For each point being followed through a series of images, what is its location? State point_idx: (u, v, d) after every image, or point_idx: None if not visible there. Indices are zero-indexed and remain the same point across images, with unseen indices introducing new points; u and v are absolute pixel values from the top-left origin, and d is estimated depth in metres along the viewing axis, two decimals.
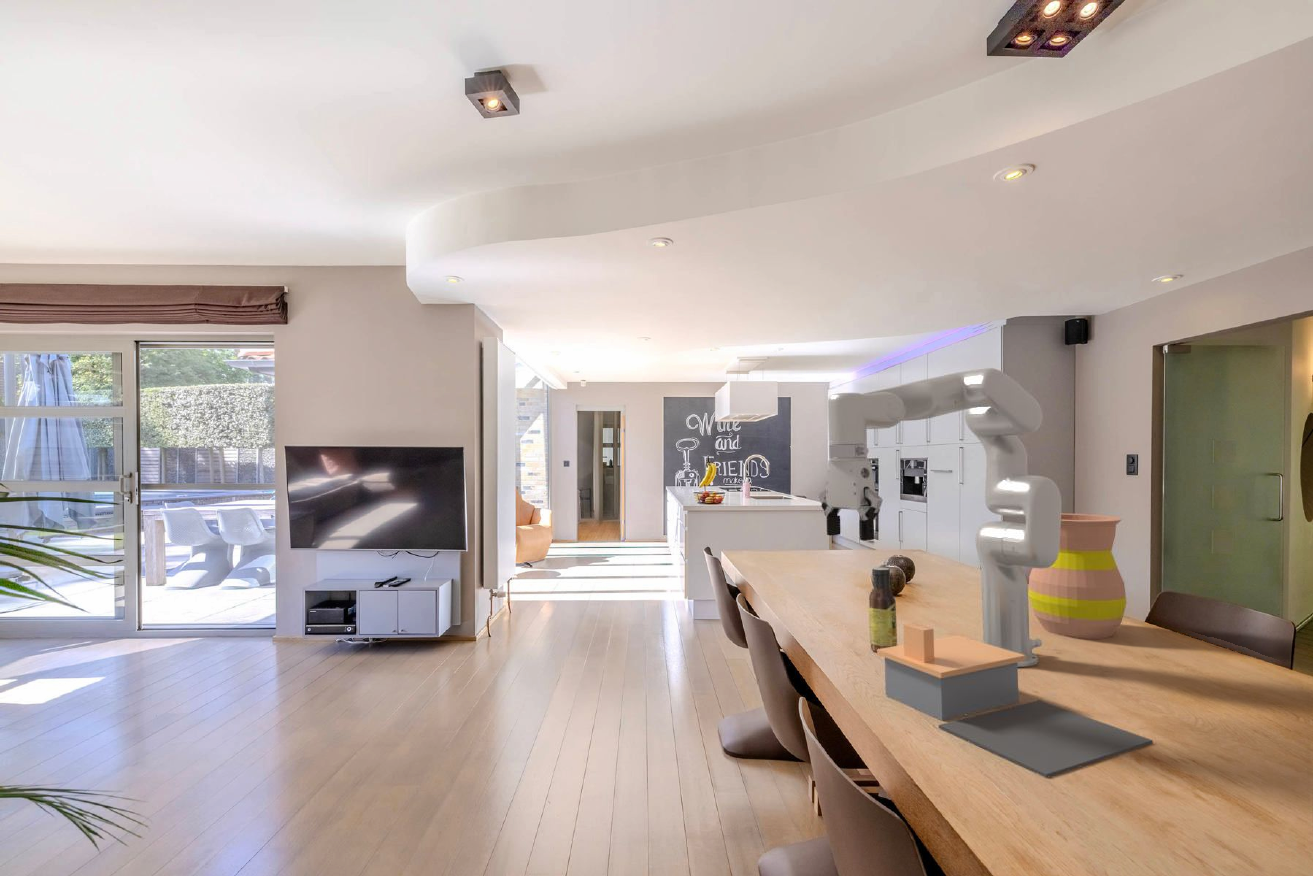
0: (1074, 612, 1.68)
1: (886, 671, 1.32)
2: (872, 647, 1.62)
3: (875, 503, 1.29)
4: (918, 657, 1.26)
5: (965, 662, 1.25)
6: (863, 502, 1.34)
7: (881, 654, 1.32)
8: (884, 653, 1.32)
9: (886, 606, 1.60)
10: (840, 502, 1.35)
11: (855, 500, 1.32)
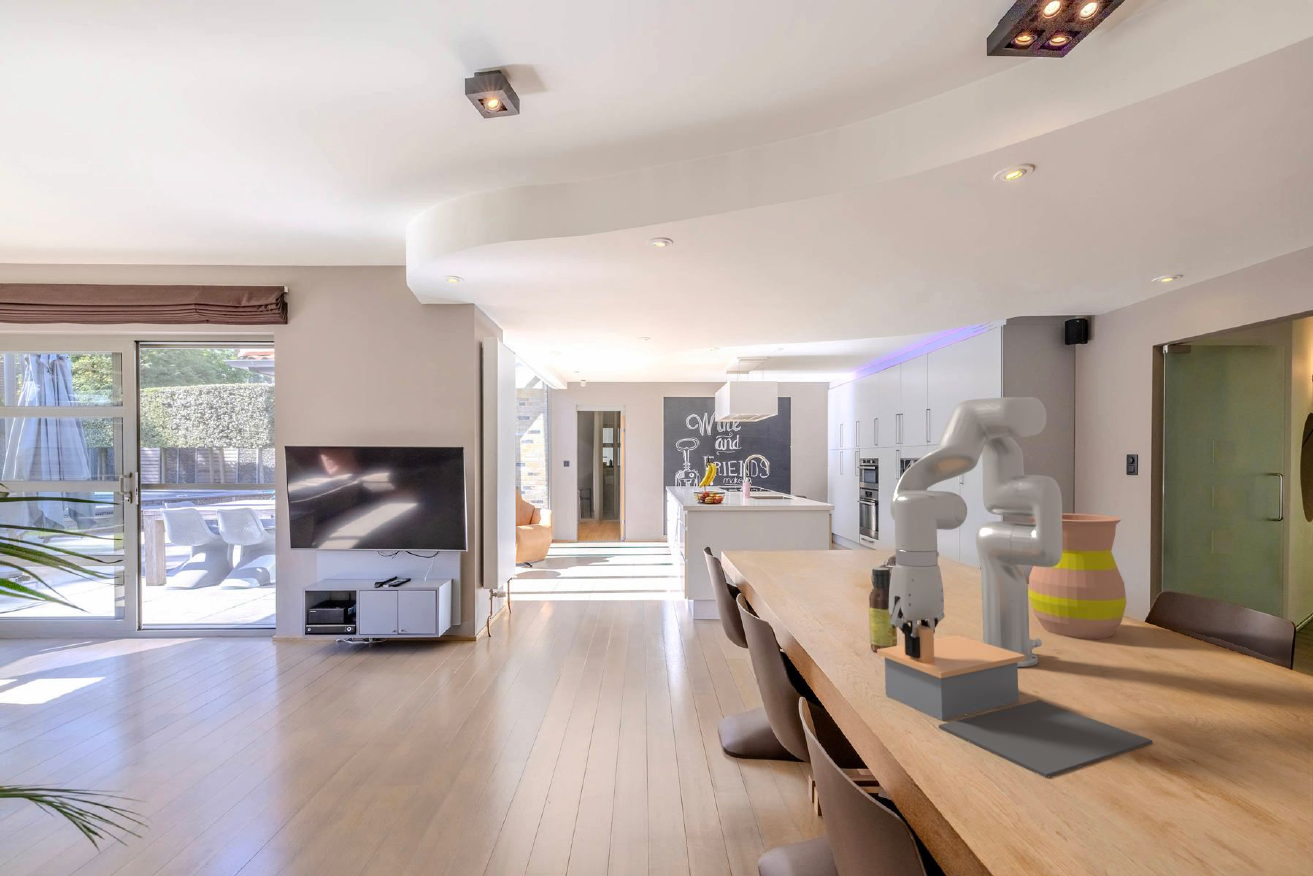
0: (1074, 612, 1.68)
1: (886, 671, 1.32)
2: (872, 647, 1.62)
3: (941, 618, 1.29)
4: None
5: (965, 662, 1.25)
6: None
7: (881, 654, 1.32)
8: (884, 653, 1.32)
9: (887, 606, 1.60)
10: (926, 613, 1.26)
11: (942, 607, 1.27)
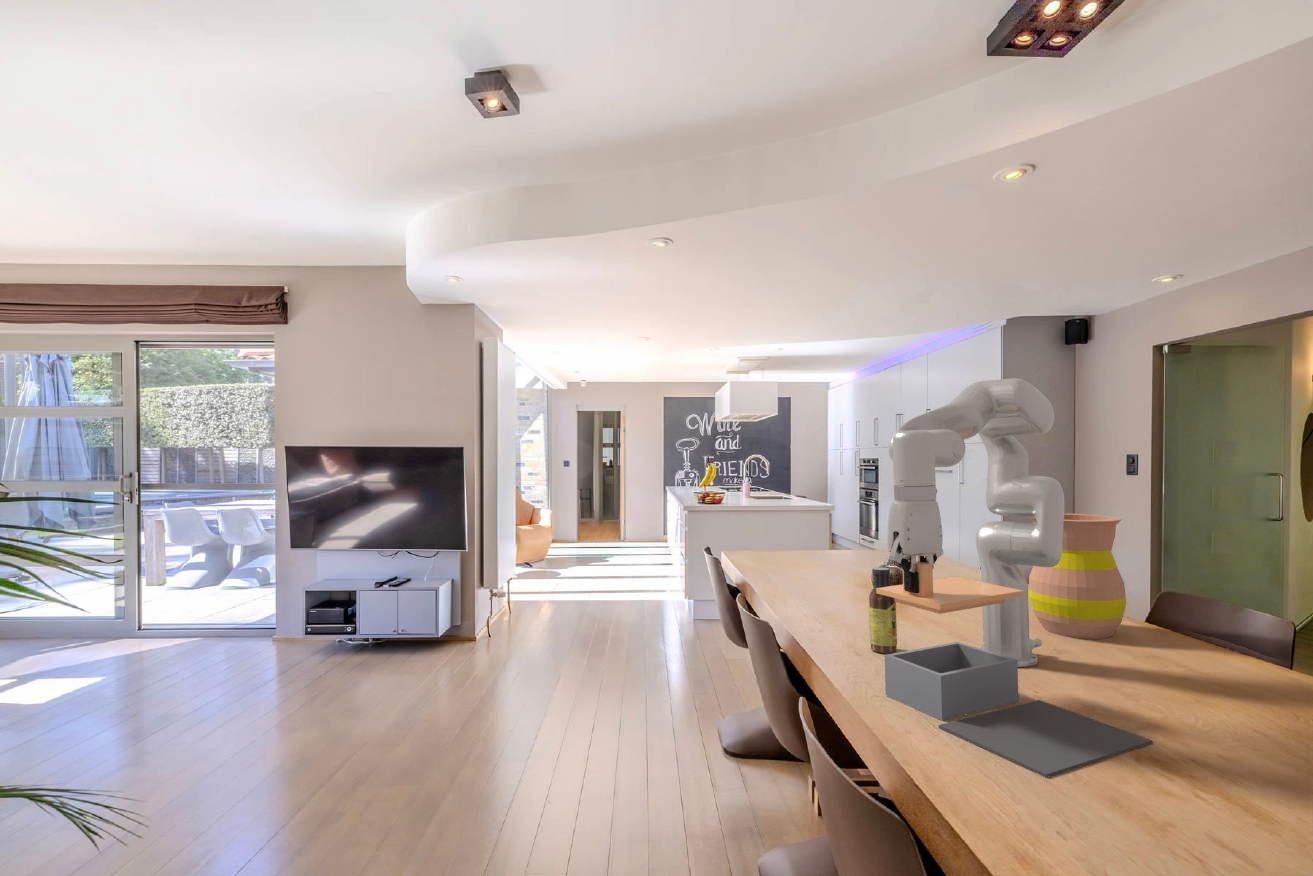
0: (1074, 612, 1.68)
1: (886, 671, 1.32)
2: (872, 647, 1.62)
3: (939, 554, 1.30)
4: None
5: (963, 596, 1.25)
6: None
7: (880, 592, 1.33)
8: (883, 591, 1.32)
9: (886, 606, 1.60)
10: (925, 548, 1.26)
11: (940, 542, 1.28)
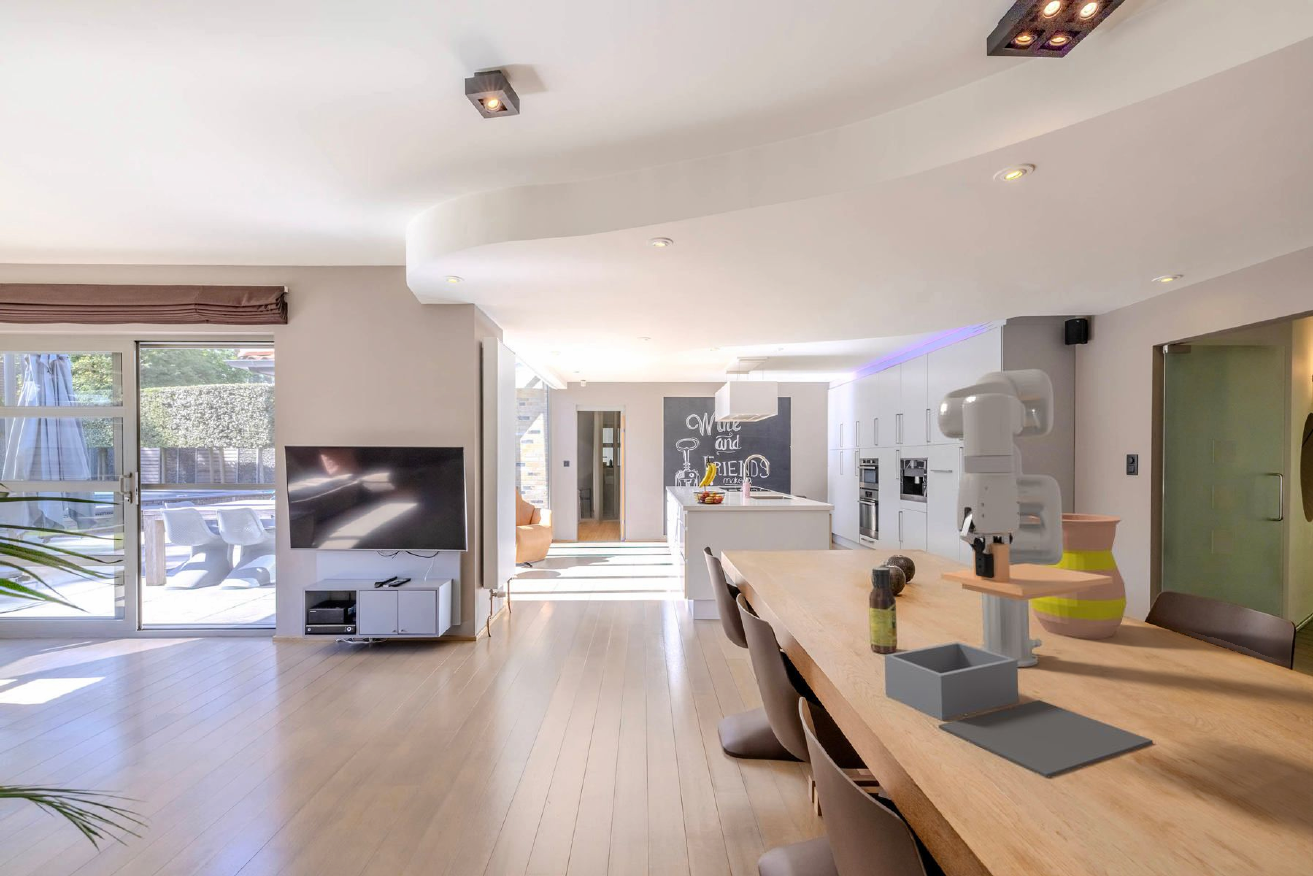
0: (1074, 612, 1.68)
1: (886, 671, 1.32)
2: (872, 647, 1.62)
3: (1015, 535, 1.14)
4: None
5: (1045, 581, 1.10)
6: None
7: (946, 578, 1.18)
8: (950, 576, 1.17)
9: (887, 606, 1.60)
10: (1001, 526, 1.11)
11: (1018, 521, 1.13)
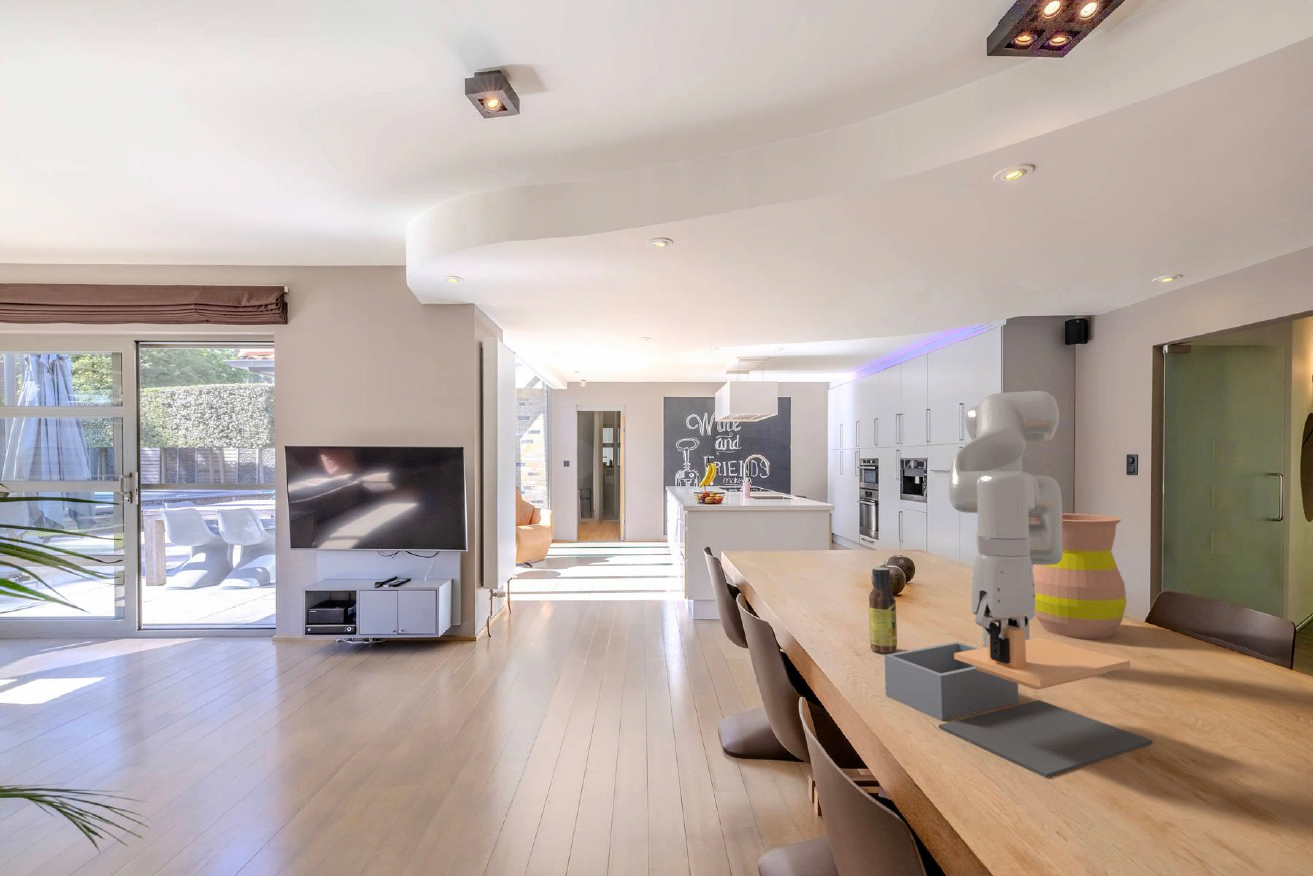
0: (1074, 612, 1.68)
1: (886, 671, 1.32)
2: (872, 647, 1.62)
3: (1030, 616, 1.12)
4: None
5: (1062, 668, 1.07)
6: None
7: (959, 659, 1.15)
8: (963, 657, 1.14)
9: (887, 606, 1.60)
10: (1016, 610, 1.08)
11: (1033, 604, 1.10)
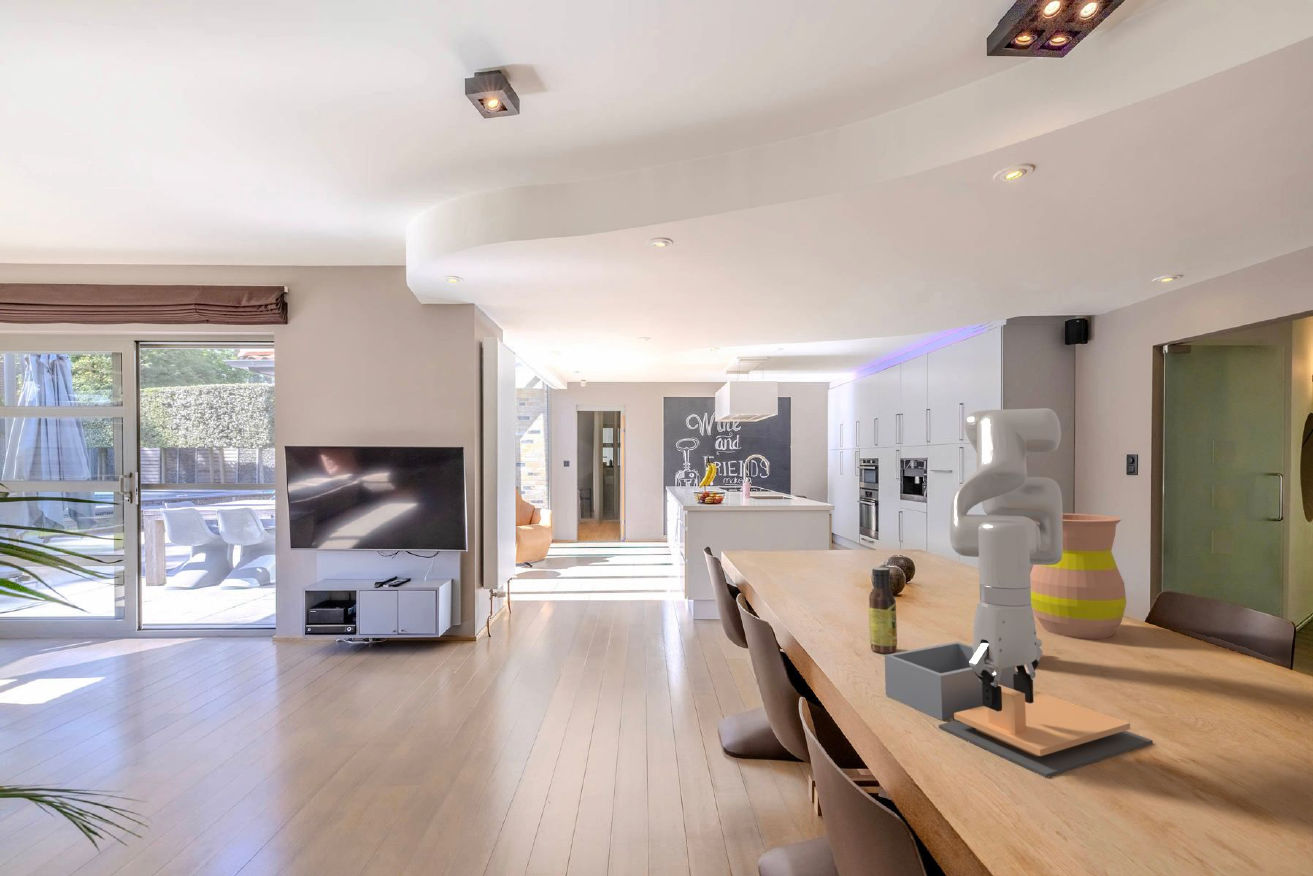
0: (1074, 612, 1.68)
1: (886, 671, 1.32)
2: (872, 647, 1.62)
3: (1039, 655, 1.13)
4: (1007, 726, 1.08)
5: (1062, 733, 1.07)
6: None
7: (959, 719, 1.15)
8: (963, 718, 1.14)
9: (887, 606, 1.60)
10: (1018, 659, 1.08)
11: (1035, 651, 1.10)
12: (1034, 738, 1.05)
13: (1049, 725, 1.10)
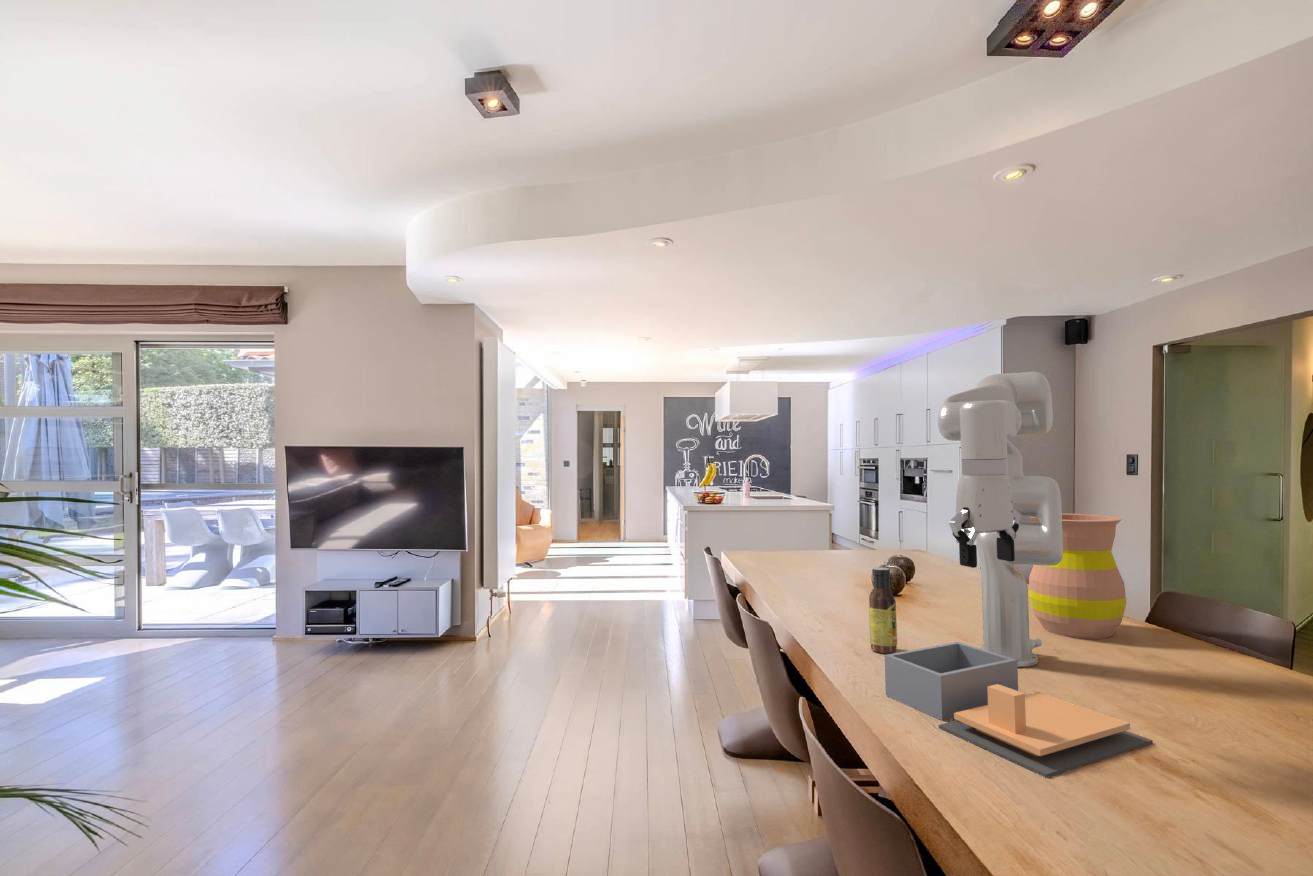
0: (1074, 613, 1.68)
1: (886, 671, 1.32)
2: (872, 647, 1.62)
3: (1018, 519, 1.24)
4: (1007, 726, 1.08)
5: (1062, 733, 1.07)
6: None
7: (959, 719, 1.15)
8: (963, 718, 1.14)
9: (887, 606, 1.60)
10: (996, 524, 1.19)
11: (1011, 519, 1.21)
12: (1034, 738, 1.05)
13: (1049, 725, 1.10)
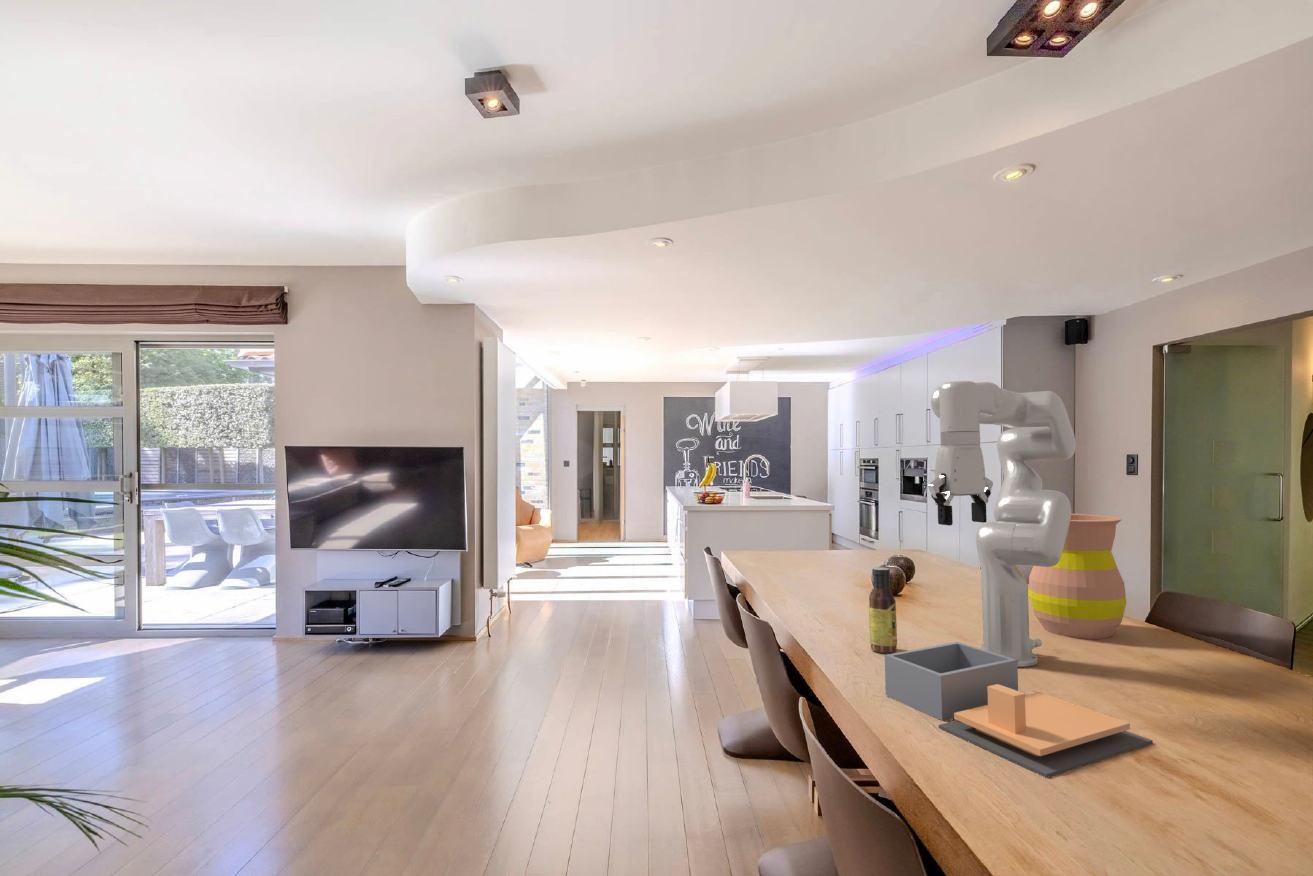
0: (1074, 612, 1.68)
1: (886, 671, 1.32)
2: (872, 647, 1.62)
3: (990, 486, 1.41)
4: (1007, 726, 1.08)
5: (1062, 733, 1.07)
6: None
7: (959, 719, 1.15)
8: (963, 718, 1.14)
9: (887, 606, 1.60)
10: (969, 489, 1.37)
11: (984, 485, 1.39)
12: (1034, 738, 1.05)
13: (1049, 725, 1.10)
